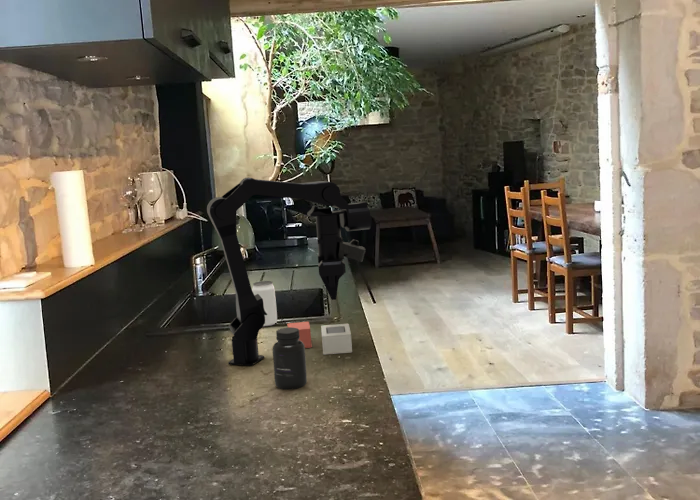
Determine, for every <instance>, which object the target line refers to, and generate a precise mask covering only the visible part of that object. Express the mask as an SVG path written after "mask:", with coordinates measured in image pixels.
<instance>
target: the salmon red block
mask: <svg viewBox="0 0 700 500" xmlns="http://www.w3.org/2000/svg"><path fill="white" fill-rule="evenodd" d="M289 327H292V328H298V329H299V335H300V338H299V340H300V341H302V342H303V344H304V345H305V349H308V348H309V349H310V348H312V347H313V345H312V334H311V326H310V321H301V322H300V321H299V322H291V323H290V322H289V323H287V328H289Z"/></svg>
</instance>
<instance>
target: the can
mask: <svg viewBox="0 0 700 500" xmlns="http://www.w3.org/2000/svg"><path fill="white" fill-rule="evenodd" d="M251 289H252V292H253V294H254V296H255V295H257V294H259V295H260V297H261V298H262V299H263V305H264V310H265V312H266V313H267V315H264V316H265V324H264V325H263V327H270V326H275V325H276V324H277V322H278V312H277V311H278V309H277V301H276V291H275V289H276V288H275V286H274V284H273V281H272V280H259V281H255V282H253V283H252V287H251ZM275 323H276V324H275Z"/></svg>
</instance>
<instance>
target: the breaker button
mask: <svg viewBox="0 0 700 500" xmlns="http://www.w3.org/2000/svg"><path fill="white" fill-rule="evenodd" d="M327 330H328V334H329V333H342V332H344V328H343V327H334V328H327Z"/></svg>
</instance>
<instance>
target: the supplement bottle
mask: <svg viewBox="0 0 700 500" xmlns="http://www.w3.org/2000/svg"><path fill="white" fill-rule="evenodd" d="M275 334H276V336H275V337H276V342H275V343H274V345H273V346H272V360H273V373H274V374H273V375H274V384H275V386H276V387H277V388H278V389H280V390H286V391H287V390H289V391H290V390H297V389H300V388H303V387H304V386H305V385H306V384H307V381H308V377H307V376H308V375H307V360H306V348H305V345H304V344H303V342H302V341H300V340H299V338H300V335H299V329H298V328H292V327H289V328H288V327H282V328H279V329H277V330H276V332H275Z"/></svg>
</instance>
